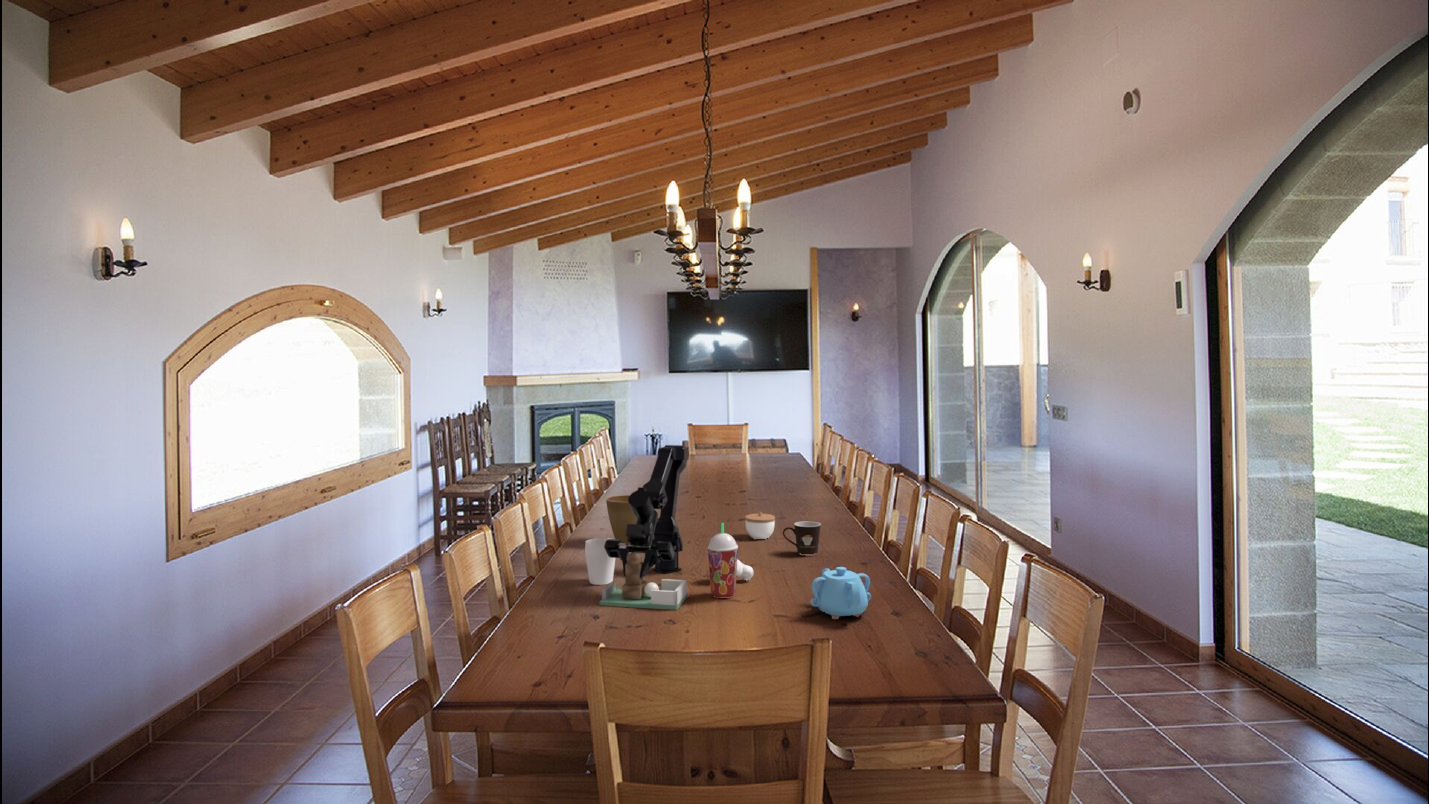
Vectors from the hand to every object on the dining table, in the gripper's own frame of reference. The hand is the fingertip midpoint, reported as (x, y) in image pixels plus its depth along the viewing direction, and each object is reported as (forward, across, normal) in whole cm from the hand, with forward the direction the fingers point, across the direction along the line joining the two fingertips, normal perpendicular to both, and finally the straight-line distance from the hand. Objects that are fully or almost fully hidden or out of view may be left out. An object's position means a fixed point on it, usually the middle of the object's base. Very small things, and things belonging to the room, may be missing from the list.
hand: (632, 577), depth 213 cm
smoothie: (-2, +22, +12) cm, 26 cm away
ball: (+2, +5, +4) cm, 6 cm away
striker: (+3, 0, +5) cm, 5 cm away
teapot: (+3, +55, +6) cm, 55 cm away
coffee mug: (-38, +39, +47) cm, 72 cm away
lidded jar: (-51, +21, +61) cm, 82 cm away
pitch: (+4, +3, +6) cm, 7 cm away
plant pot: (-39, -23, +49) cm, 66 cm away
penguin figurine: (-12, +22, +22) cm, 34 cm away
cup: (-6, -15, +16) cm, 23 cm away
